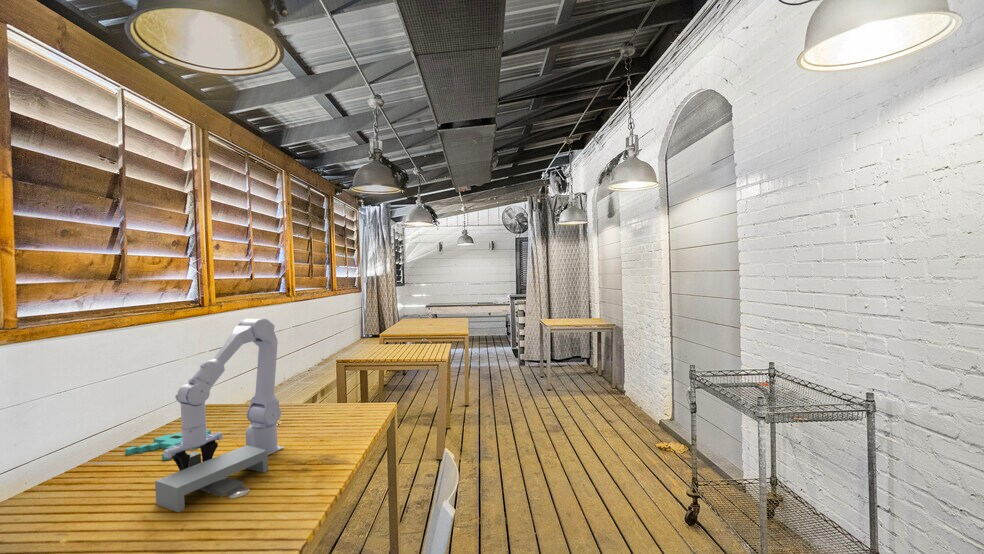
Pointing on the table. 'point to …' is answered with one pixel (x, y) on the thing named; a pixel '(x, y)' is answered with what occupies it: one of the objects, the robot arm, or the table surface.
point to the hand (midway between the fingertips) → (195, 473)
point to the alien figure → (160, 444)
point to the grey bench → (207, 475)
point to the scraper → (219, 486)
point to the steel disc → (238, 492)
